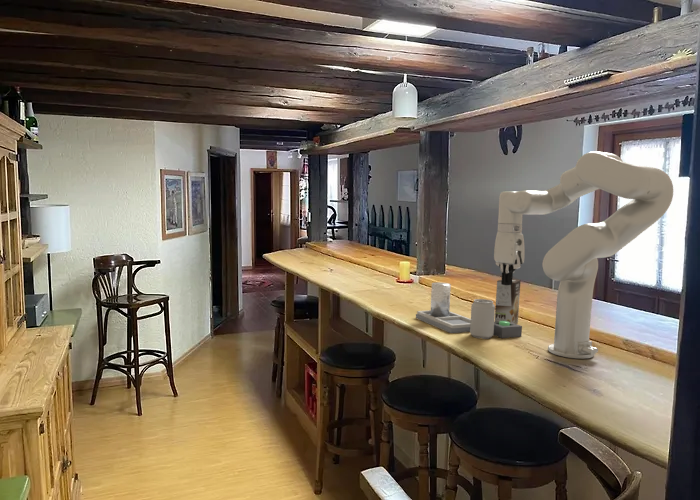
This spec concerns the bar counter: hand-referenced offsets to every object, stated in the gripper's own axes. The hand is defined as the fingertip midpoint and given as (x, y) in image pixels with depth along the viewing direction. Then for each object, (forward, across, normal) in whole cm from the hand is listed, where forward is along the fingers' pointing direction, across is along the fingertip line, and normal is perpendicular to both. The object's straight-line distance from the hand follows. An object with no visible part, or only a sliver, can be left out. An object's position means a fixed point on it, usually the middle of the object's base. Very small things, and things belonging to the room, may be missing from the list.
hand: (506, 284), depth 177 cm
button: (+16, 0, 0) cm, 16 cm away
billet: (+15, +24, +9) cm, 30 cm away
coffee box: (+17, +12, -11) cm, 24 cm away
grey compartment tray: (+17, +18, +10) cm, 27 cm away
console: (+17, 0, 0) cm, 17 cm away
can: (+17, 0, +9) cm, 19 cm away
